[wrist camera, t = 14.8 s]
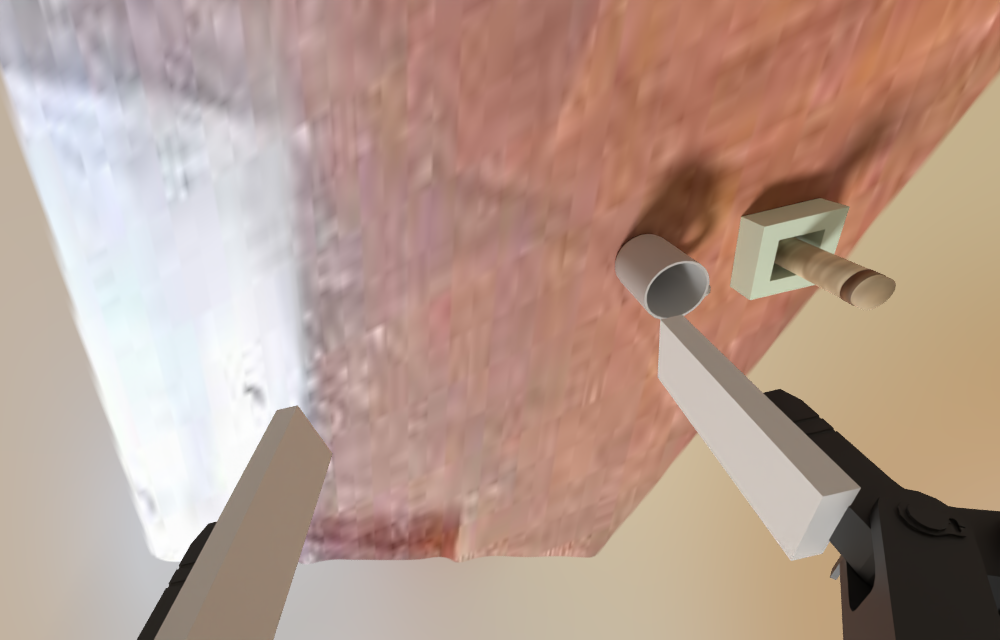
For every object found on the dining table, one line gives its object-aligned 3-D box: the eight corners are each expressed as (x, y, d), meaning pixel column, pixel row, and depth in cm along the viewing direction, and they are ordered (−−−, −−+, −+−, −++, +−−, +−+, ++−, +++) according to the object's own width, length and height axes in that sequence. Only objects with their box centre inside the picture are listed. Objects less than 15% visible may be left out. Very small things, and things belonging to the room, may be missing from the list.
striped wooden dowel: (761, 234, 47) (864, 282, 36) (789, 228, 47) (902, 273, 36) (756, 260, 49) (852, 314, 38) (783, 254, 49) (887, 305, 38)
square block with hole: (741, 216, 46) (764, 226, 42) (819, 197, 46) (849, 206, 42) (729, 286, 51) (749, 300, 48) (800, 269, 51) (825, 282, 48)
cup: (627, 226, 45) (663, 254, 37) (696, 243, 47) (743, 272, 39) (604, 279, 48) (633, 314, 41) (669, 292, 51) (708, 327, 43)
